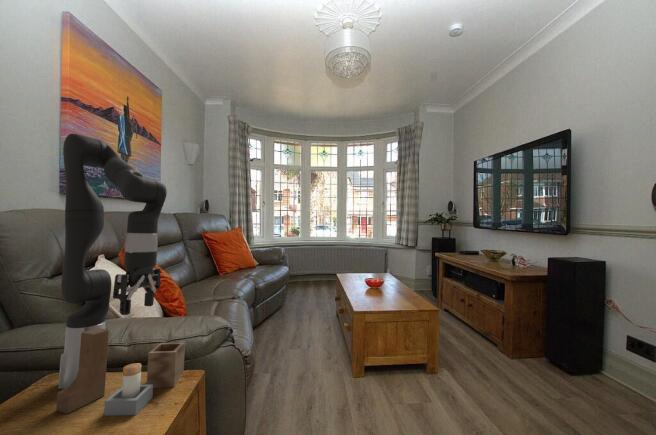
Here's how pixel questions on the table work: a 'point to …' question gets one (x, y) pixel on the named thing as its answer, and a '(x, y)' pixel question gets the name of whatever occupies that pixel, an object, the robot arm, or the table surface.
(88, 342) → the wooden block
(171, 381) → the socket tower
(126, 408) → the low socket
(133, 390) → the white and tan cylinder
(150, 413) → the table surface
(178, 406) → the table surface
